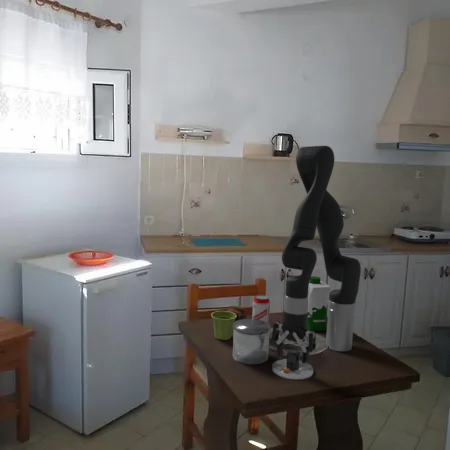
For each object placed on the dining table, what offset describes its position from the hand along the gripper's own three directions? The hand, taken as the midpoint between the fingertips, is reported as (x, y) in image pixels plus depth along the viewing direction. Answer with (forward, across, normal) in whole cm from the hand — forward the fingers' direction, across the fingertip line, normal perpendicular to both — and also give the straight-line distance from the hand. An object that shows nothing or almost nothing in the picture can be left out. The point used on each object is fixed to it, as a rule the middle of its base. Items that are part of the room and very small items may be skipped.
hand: (292, 358), depth 155 cm
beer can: (+4, +22, -16) cm, 27 cm away
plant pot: (+4, +33, -8) cm, 34 cm away
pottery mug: (+4, +37, -22) cm, 43 cm away
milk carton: (+4, +11, -40) cm, 42 cm away
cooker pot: (+4, +16, 0) cm, 16 cm away
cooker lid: (+4, 0, 0) cm, 4 cm away
